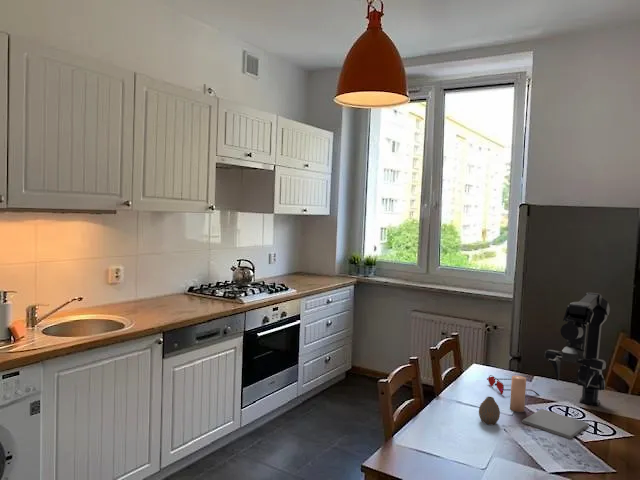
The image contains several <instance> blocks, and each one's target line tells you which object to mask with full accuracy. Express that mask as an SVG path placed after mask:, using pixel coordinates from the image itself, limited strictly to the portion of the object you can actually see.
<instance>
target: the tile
mask: <svg viewBox="0 0 640 480" xmlns="http://www.w3.org/2000/svg"><path fill="white" fill-rule="evenodd" d="M521 423H522V424H525V425H528V426H531V427H534V428H536V429H540V430H542V429H543V431H545V432H549V433H552V434H554V435H558V436H560V437H563V438H567V439H569V440H571V439H573V438H574V437H575V436H577V435H578V434H579V433H581V432H582V431H583V430H585V429H586V428H587V427H589V423H588V422H586V421H584V420H579V419H577V418H573V417H570V416H566V415H562V414H561V413H558V412H554V411H550V410H547V409H543V408H541V409H538V410H537V411H536V412H534V413H532V414H530V415H529V416H527V417H526V418H523V419H522V422H521Z"/></svg>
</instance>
